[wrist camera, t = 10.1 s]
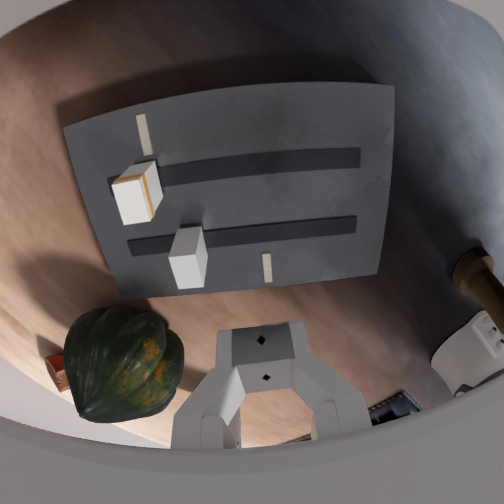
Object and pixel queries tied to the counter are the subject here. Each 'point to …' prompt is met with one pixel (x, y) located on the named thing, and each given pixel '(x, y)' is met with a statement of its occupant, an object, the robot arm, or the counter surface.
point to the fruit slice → (57, 371)
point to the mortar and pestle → (481, 283)
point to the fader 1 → (138, 193)
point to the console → (245, 183)
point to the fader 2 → (189, 258)
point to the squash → (121, 364)
